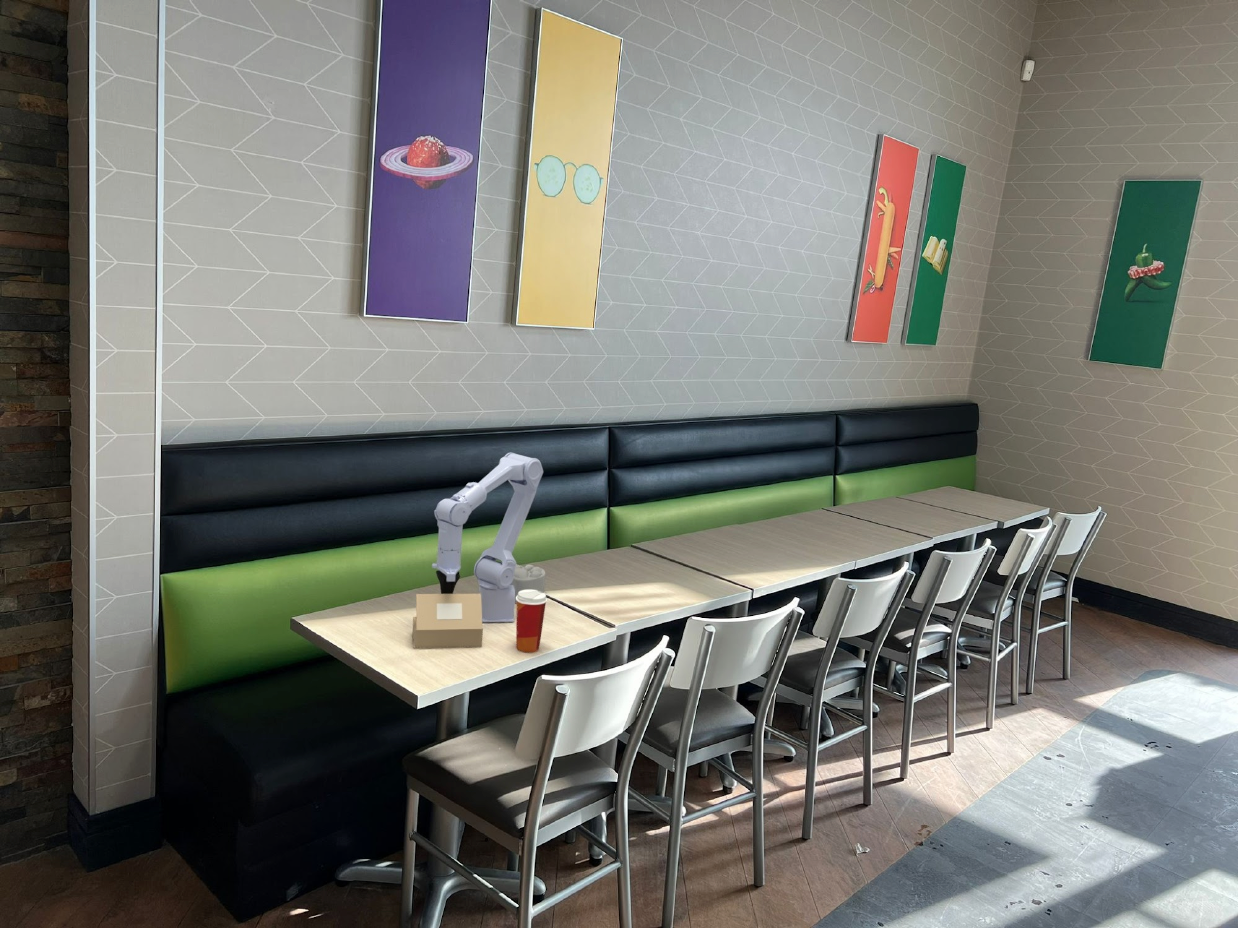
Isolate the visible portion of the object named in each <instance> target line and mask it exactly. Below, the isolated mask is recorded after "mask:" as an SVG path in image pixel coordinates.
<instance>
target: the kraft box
mask: <svg viewBox="0 0 1238 928" xmlns="http://www.w3.org/2000/svg"><path fill="white" fill-rule="evenodd" d="M411 632H412V633H411V634H412V641H413V646H414V649H444V648H446V649H447V648H449V649H450V648H451V649H452V648H482V647H483V635H484V633H483V632H484V628H483V627H482V629H477V630H419V631H416V616H413V617H412V631H411Z"/></svg>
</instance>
